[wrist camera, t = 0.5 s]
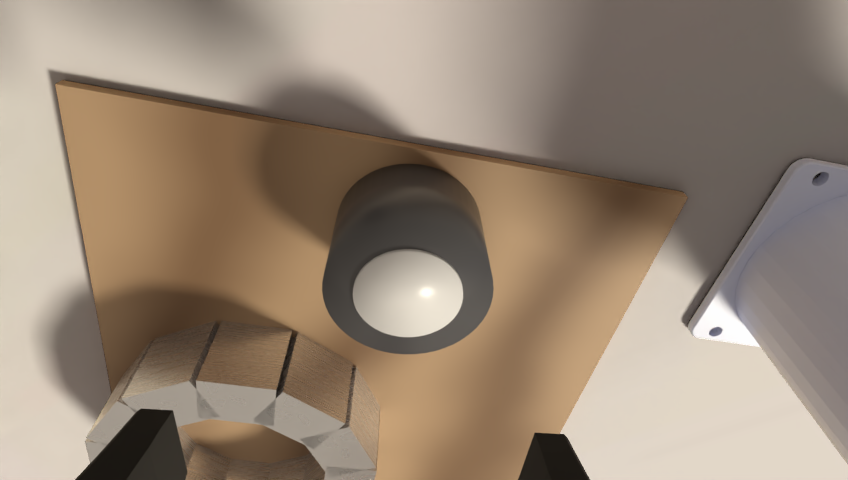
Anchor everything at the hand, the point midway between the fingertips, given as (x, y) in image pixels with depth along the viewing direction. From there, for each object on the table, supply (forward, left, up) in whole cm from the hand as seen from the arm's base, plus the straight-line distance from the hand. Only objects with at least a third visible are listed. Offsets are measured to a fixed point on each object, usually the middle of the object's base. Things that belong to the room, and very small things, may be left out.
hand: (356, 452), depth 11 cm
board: (0, +7, -9) cm, 12 cm away
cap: (-1, 0, -9) cm, 9 cm away
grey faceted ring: (+4, +11, -9) cm, 15 cm away
